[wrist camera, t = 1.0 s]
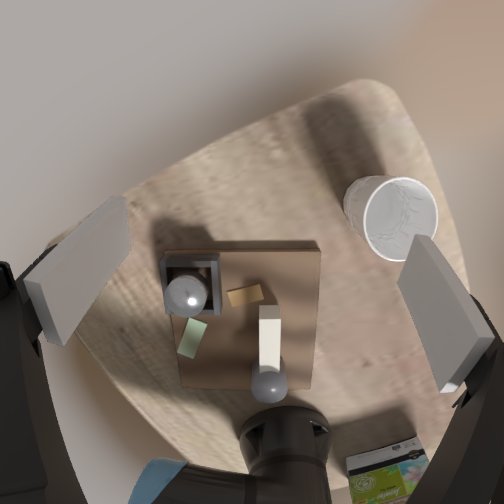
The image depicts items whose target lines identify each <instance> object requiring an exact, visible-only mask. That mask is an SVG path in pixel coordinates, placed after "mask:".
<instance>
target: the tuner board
mask: <svg viewBox="0 0 504 504" xmlns="http://www.w3.org/2000/svg"><path fill="white" fill-rule="evenodd" d="M159 265H160V274H161V282H162V290H163V298H164V306H165V313H166V314H171V319H172V326H173V333H174V339H175V346H176V352H177V358H178V365H179V370H180V376H181V382H182V387H185V388H201V389H222V390H251V386H252V367H253V363H254V362H255V360H256V359H258V358H259V305H280V315H281V337H280V358H281V359H282V360H283V361H284V363H285V368H286V379H287V390H297V389H310V387H311V378H312V369H313V359H314V348H315V337H316V325H317V313H318V299H319V283H320V265H321V251H320V249H219V250H166V251H165V252H164V257H163V258H162V259H161V260H160V261H159ZM184 270H193V271H196V272H198V273H200V274H201V275H203V276H204V277H205V279H206V280H207V282H208V285H209V294H208V297H207V300H206V302H205V305H204V307H203V309H202V311H201V312H200V313H199V314H198V315H196V316H194V317H189V318H185V317H180V316H178V315H176V314H174V313H173V312H172V311H171V310H170V309H169V308H168V307H167V305H166V302H165V297H164V296H165V291H166V288H167V287H168V285H169V284H170V283H171V281H172V280H173V278H174V277H175V276H176V275H177V274H178V273H179V272H181V271H184Z"/></svg>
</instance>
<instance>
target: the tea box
mask: <svg viewBox="0 0 504 504" xmlns="http://www.w3.org/2000/svg"><path fill="white" fill-rule="evenodd" d="M346 464H347V472H348V480H349V487H350V493H351V498H352V504H405V503H406V501H407V500H408V498H409V497H410V495H411V494H412V492H413V491H414V489H415V487H416V486H417V484H418V482H419V481H420V479H421V477H422V476H423V474H424V472H425V471H426V469H427V467H428V465H429V460H428V458H427V455H426V453H425V451H424V449H423V446H422V444H421V442H420V440H419V438H418V437H414V438H412V439H409V440H406V441H403V442H401V443H398V444H394V445H391V446H388V447H385V448H381V449H377V450H374V451H370V452H366V453H362V454H358V455H354V456H349V457H347V458H346Z"/></svg>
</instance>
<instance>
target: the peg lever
mask: <svg viewBox="0 0 504 504" xmlns="http://www.w3.org/2000/svg"><path fill="white" fill-rule="evenodd" d="M280 337H281V315H280V305H259V358H258V359H256V360H255V362H254V363H253V367H252V386H251V393H252V395H253V397H254V398H255V399H256V400H258V401H260V402H262V403H275V402H278V401H280V400H282V399H283V398H284V397H285V396H286V394H287V379H286V368H285V363H284V361H283V360H282V359H281V358H280Z"/></svg>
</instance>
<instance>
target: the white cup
mask: <svg viewBox="0 0 504 504" xmlns="http://www.w3.org/2000/svg"><path fill="white" fill-rule="evenodd" d="M343 206H344V214H345V216H346V217H347V219H348V221H349V223H350V224H351V225H352V227H353V228H354V229H355V231H356V232H357V233H358V234H359V235H360V236H361V237H362V238H363V240H364V241H365V242H366V243H367V244H368V245H369V246H370V247H371V248H372V249H373V250H374V251H375V252H376V253H377V254H378V255H379V256H381V257H383V258H385V259H387V260H390V261H406V258H407V256H408V253H409V250H410V247H411V244H412V241H413V238H414V236H415V234H420V235H426V236H429V237H430V238H431V240H432V239H433V237H434V235H435V232H436V229H437V224H438V209H437V205H436V201H435V199H434V197H433V195H432V193H431V192H430V190H429V189H428V188H427V187H426V186H425V185H424V184H423V183H421V182H420V181H418V180H416V179H414V178H410V177H403V176H388V175H382V176H381V175H377V176H366V177H363V178H359V179H356V180H355V181H354V182H353V183H352V184H351V185H350V186H349V187H348V188H347V191H346V194H345V196H344V199H343Z"/></svg>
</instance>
